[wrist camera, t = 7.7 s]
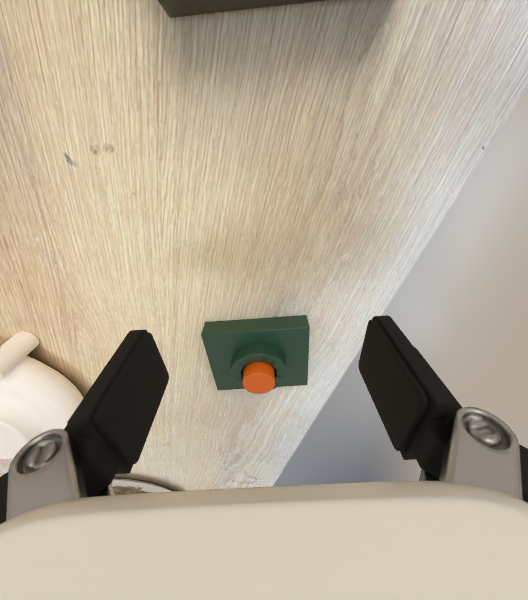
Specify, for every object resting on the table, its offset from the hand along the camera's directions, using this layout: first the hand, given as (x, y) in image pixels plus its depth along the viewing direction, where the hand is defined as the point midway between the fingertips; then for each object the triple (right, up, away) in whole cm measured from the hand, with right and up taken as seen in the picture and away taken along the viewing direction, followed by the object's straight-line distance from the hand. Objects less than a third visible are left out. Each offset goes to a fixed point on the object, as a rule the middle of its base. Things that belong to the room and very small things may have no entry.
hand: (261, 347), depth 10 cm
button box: (-1, -4, +20) cm, 21 cm away
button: (0, -6, +17) cm, 18 cm away
